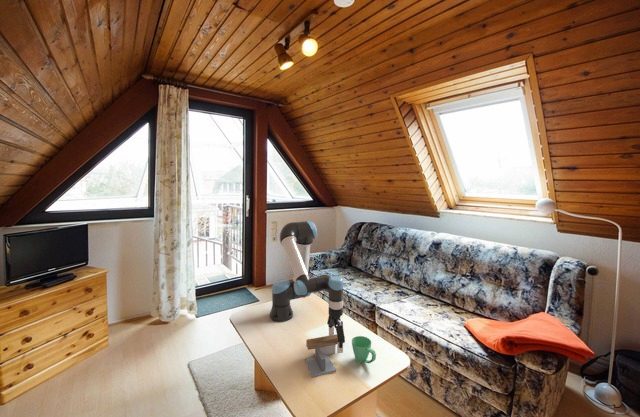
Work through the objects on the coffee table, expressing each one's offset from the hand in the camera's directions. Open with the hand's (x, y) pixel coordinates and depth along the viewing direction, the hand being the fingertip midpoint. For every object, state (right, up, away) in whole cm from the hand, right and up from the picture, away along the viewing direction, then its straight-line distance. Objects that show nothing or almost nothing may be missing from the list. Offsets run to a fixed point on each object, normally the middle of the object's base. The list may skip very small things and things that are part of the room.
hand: (335, 345), depth 152 cm
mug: (+14, -4, -9) cm, 17 cm away
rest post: (-5, -3, -1) cm, 6 cm away
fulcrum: (-8, -5, -12) cm, 15 cm away
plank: (-5, +2, -2) cm, 6 cm away
